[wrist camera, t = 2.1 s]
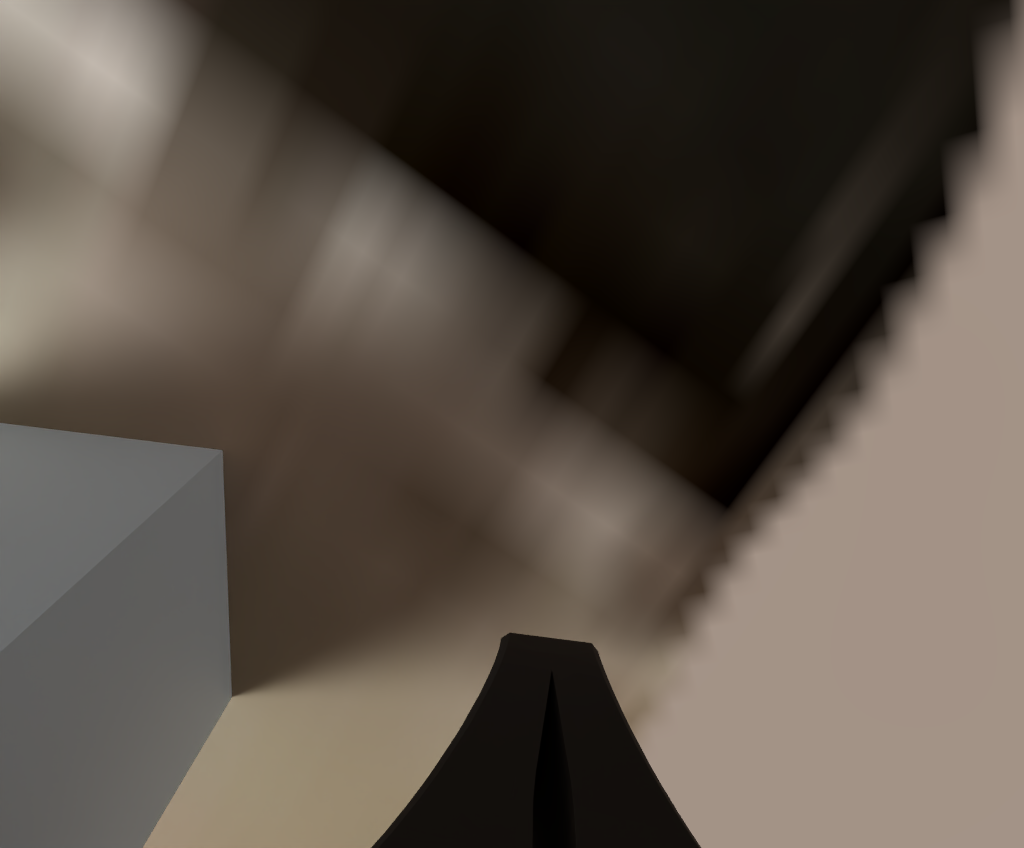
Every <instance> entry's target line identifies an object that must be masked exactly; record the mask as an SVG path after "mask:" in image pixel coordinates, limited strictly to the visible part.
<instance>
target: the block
mask: <svg viewBox="0 0 1024 848" xmlns="http://www.w3.org/2000/svg"><path fill="white" fill-rule="evenodd" d="M231 698H232V684H231V658H230V631H229V605H228V578H227V552H226V525H225V499H224V472H223V450H218V449H210V448H201V447H193V446H185V445H177V444H169V443H161V442H153V441H144V440H136V439H128V438H120V437H112V436H104V435H96V434H87V433H79V432H71V431H63V430H55V429H47V428H39V427H31V426H22V425H14V424H6V423H0V848H143V846H144V844H145V842H146V841H147V839H148V837H149V836H150V834H151V832H152V831H153V829H154V827H155V826H156V824H157V822H158V821H159V819H160V817H161V816H162V814H163V812H164V810H165V809H166V807H167V805H168V804H169V802H170V800H171V799H172V797H173V795H174V794H175V792H176V790H177V789H178V787H179V785H180V784H181V782H182V780H183V778H184V777H185V775H186V773H187V772H188V770H189V768H190V767H191V765H192V763H193V762H194V760H195V758H196V757H197V755H198V753H199V752H200V750H201V748H202V746H203V745H204V743H205V741H206V740H207V738H208V736H209V735H210V733H211V731H212V730H213V728H214V726H215V725H216V723H217V721H218V720H219V718H220V716H221V714H222V713H223V711H224V709H225V708H226V706H227V704H228V703H229V701H230V699H231Z"/></svg>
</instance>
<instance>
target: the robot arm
mask: <svg viewBox="0 0 1024 848" xmlns="http://www.w3.org/2000/svg"><path fill="white" fill-rule="evenodd" d="M372 848H701V847H700V845H699V844H698V842H697V841H696V839H695V838H694V836H693V835H692V833H691V832H690V830H689V829H688V827H687V826H686V824H685V823H684V821H683V819H682V818H681V816H680V815H679V813H678V812H677V810H676V808H675V807H674V805H673V804H672V802H671V800H670V798H669V797H668V795H667V793H666V792H665V790H664V788H663V787H662V785H661V783H660V782H659V780H658V778H657V776H656V775H655V773H654V771H653V770H652V768H651V766H650V764H649V762H648V760H647V759H646V757H645V755H644V753H643V751H642V749H641V747H640V745H639V743H638V741H637V739H636V738H635V736H634V734H633V732H632V730H631V728H630V726H629V724H628V722H627V720H626V718H625V716H624V714H623V712H622V710H621V707H620V705H619V703H618V701H617V699H616V696H615V694H614V692H613V690H612V687H611V685H610V683H609V680H608V678H607V675H606V673H605V670H604V668H603V665H602V662H601V660H600V657H599V654H598V651H597V650H596V648H595V647H594V646H593V644H592V643H586V642H578V641H570V640H562V639H555V638H547V637H539V636H531V635H523V634H516V633H509V634H507V635H506V636H504V637H503V638H501V643H500V647H499V651H498V654H497V657H496V659H495V662H494V665H493V667H492V669H491V672H490V674H489V676H488V678H487V680H486V682H485V684H484V686H483V688H482V690H481V693H480V694H479V696H478V698H477V700H476V702H475V703H474V705H473V707H472V709H471V710H470V712H469V714H468V716H467V718H466V719H465V721H464V723H463V725H462V726H461V728H460V730H459V731H458V733H457V735H456V736H455V738H454V739H453V741H452V742H451V744H450V745H449V747H448V748H447V750H446V751H445V753H444V754H443V756H442V757H441V759H440V760H439V762H438V763H437V765H436V766H435V768H434V769H433V771H432V772H431V774H430V775H429V776H428V778H427V779H426V781H425V782H424V783H423V785H422V786H421V787H420V789H419V790H418V791H417V793H416V794H415V795H414V797H413V798H412V799H411V801H410V802H409V803H408V805H407V806H406V807H405V808H404V810H403V811H402V812H401V813H400V814H399V816H398V817H397V818H396V819H395V821H394V822H393V823H392V824H391V826H390V827H389V828H388V829H387V830H386V832H385V833H384V834H383V835H382V836H381V837H380V838H379V840H378V841H377V842H376V843H375V844H374V845H373V846H372Z"/></svg>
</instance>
